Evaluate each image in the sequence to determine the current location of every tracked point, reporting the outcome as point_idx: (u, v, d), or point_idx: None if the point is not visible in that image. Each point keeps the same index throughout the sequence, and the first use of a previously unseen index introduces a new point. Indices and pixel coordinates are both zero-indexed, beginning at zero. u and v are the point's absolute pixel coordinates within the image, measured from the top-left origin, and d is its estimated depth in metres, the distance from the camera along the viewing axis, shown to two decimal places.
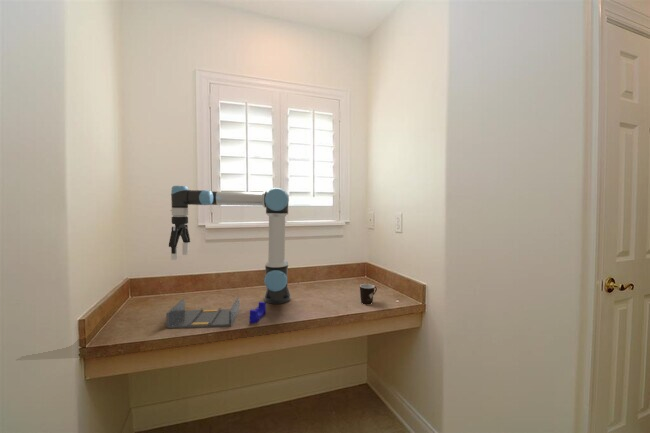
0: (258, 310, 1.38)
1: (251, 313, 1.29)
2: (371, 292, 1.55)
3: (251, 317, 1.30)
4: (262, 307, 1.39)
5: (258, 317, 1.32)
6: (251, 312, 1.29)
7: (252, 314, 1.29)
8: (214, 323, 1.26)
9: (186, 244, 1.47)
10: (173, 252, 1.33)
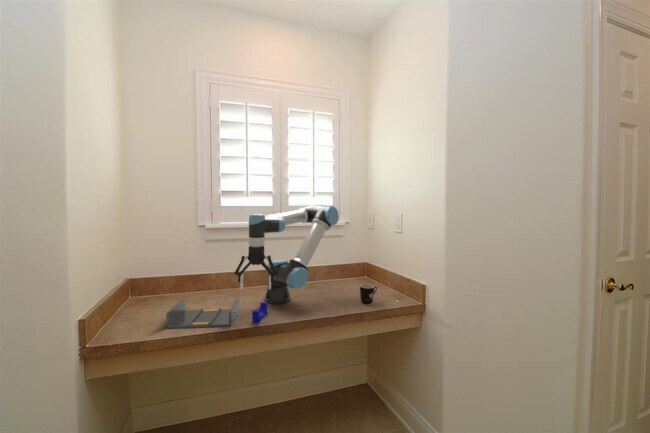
0: (260, 310, 1.38)
1: (253, 313, 1.29)
2: (371, 292, 1.55)
3: (253, 317, 1.29)
4: (264, 307, 1.39)
5: (260, 317, 1.32)
6: (253, 312, 1.29)
7: (255, 314, 1.29)
8: (214, 323, 1.26)
9: (269, 277, 1.35)
10: None
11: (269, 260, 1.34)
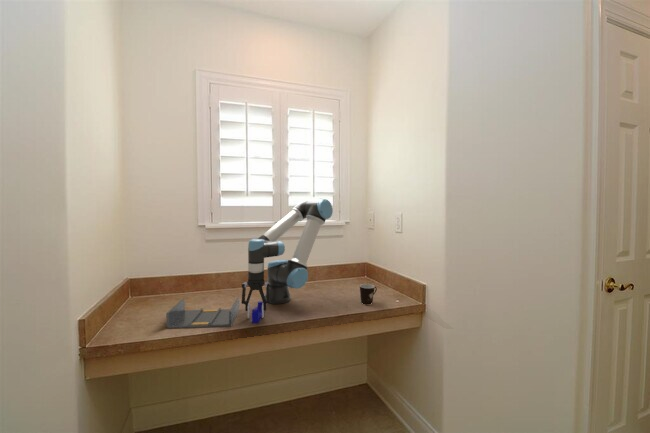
0: (257, 310, 1.38)
1: (253, 313, 1.29)
2: (371, 292, 1.55)
3: (253, 317, 1.29)
4: (261, 307, 1.39)
5: (259, 317, 1.32)
6: (253, 312, 1.29)
7: (254, 314, 1.29)
8: (214, 323, 1.26)
9: (262, 306, 1.35)
10: None
11: (267, 288, 1.34)
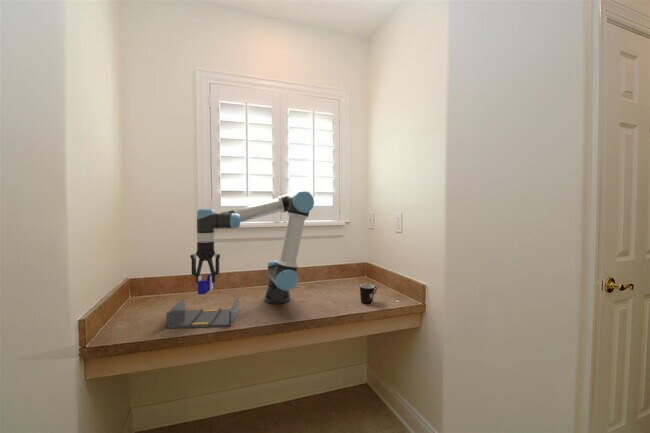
0: (207, 283, 1.34)
1: (199, 284, 1.25)
2: (371, 292, 1.55)
3: (199, 288, 1.26)
4: None
5: (207, 288, 1.29)
6: (199, 283, 1.25)
7: (200, 285, 1.25)
8: (214, 323, 1.26)
9: None
10: None
11: (216, 259, 1.31)
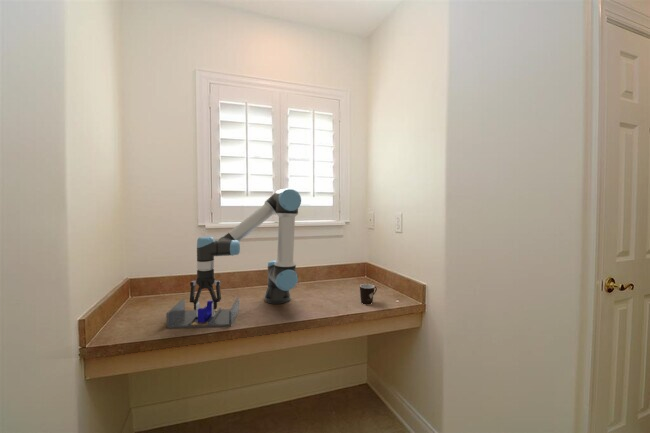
0: (206, 309, 1.35)
1: (199, 312, 1.26)
2: (371, 292, 1.55)
3: (199, 316, 1.26)
4: (211, 306, 1.36)
5: (207, 316, 1.29)
6: (199, 311, 1.26)
7: (200, 313, 1.26)
8: (214, 323, 1.26)
9: None
10: None
11: (217, 286, 1.32)
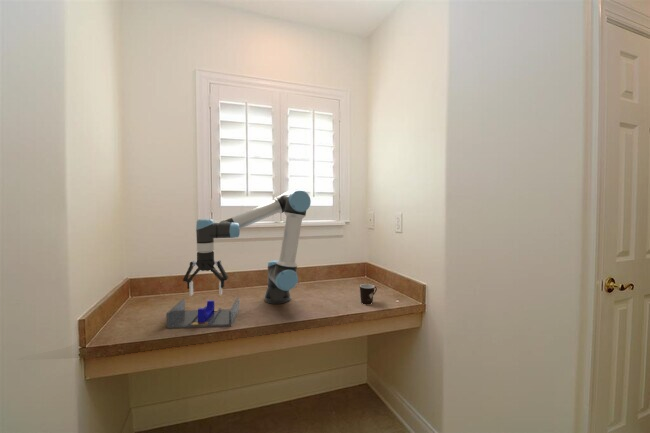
0: (206, 309, 1.35)
1: (199, 312, 1.26)
2: (371, 292, 1.55)
3: (199, 316, 1.26)
4: (211, 306, 1.36)
5: (207, 316, 1.29)
6: (199, 311, 1.26)
7: (200, 313, 1.26)
8: (214, 323, 1.26)
9: None
10: None
11: (218, 266, 1.31)
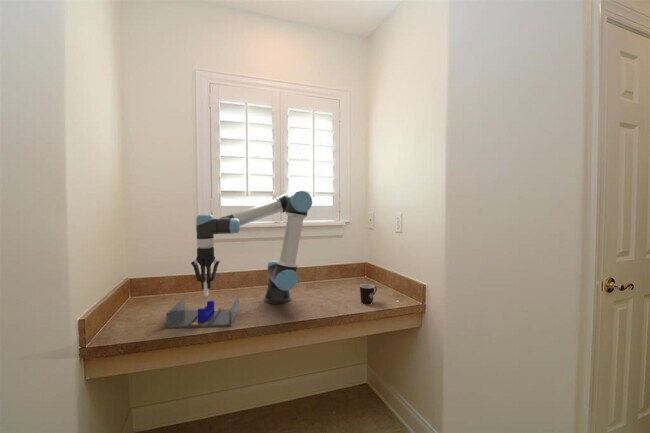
0: (206, 309, 1.35)
1: (199, 312, 1.26)
2: (371, 292, 1.55)
3: (199, 316, 1.26)
4: (211, 306, 1.36)
5: (207, 316, 1.29)
6: (199, 311, 1.26)
7: (200, 313, 1.26)
8: (214, 323, 1.26)
9: None
10: None
11: (215, 265, 1.31)
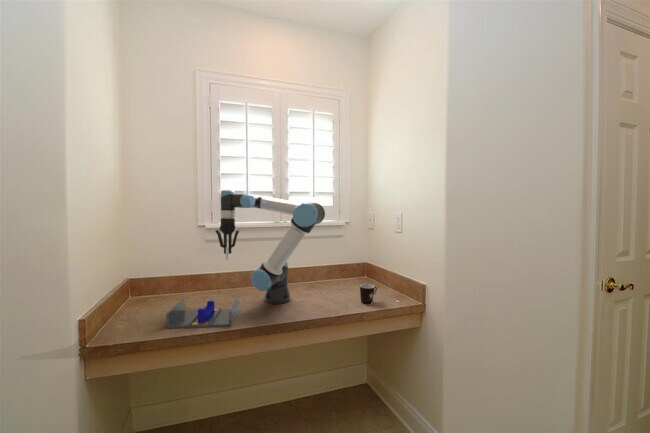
0: (206, 309, 1.35)
1: (199, 312, 1.26)
2: (371, 292, 1.55)
3: (199, 316, 1.26)
4: (211, 306, 1.36)
5: (207, 316, 1.29)
6: (199, 311, 1.26)
7: (200, 313, 1.26)
8: (214, 323, 1.26)
9: None
10: None
11: (236, 233, 1.54)
